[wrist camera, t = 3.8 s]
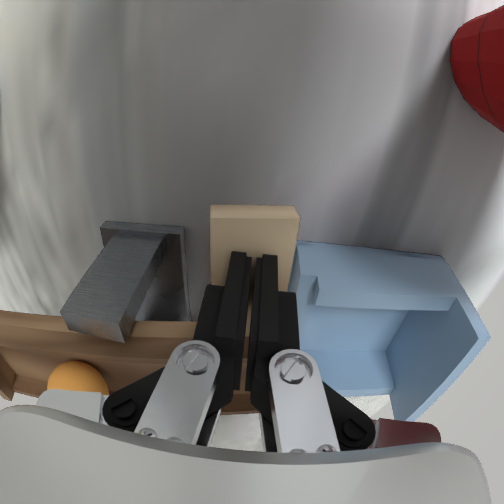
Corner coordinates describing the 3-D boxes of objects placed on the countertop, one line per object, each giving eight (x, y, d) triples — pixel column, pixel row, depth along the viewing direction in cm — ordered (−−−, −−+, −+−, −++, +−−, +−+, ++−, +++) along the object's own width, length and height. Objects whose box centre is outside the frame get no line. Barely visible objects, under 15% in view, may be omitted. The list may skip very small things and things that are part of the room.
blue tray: (293, 239, 17) (302, 340, 11) (442, 256, 16) (491, 337, 11) (271, 350, 22) (269, 433, 16) (389, 353, 22) (407, 426, 16)
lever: (-63, 221, 8) (-94, 254, 6) (293, 205, 11) (317, 253, 8) (18, 369, 16) (7, 402, 13) (261, 386, 18) (267, 427, 16)
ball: (77, 417, 10) (108, 359, 13) (25, 388, 10) (57, 339, 13) (103, 443, 12) (125, 393, 15) (54, 418, 12) (78, 374, 15)
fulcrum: (105, 221, 16) (41, 302, 11) (183, 226, 16) (139, 323, 11) (134, 334, 22) (105, 410, 16) (193, 344, 22) (174, 426, 16)
